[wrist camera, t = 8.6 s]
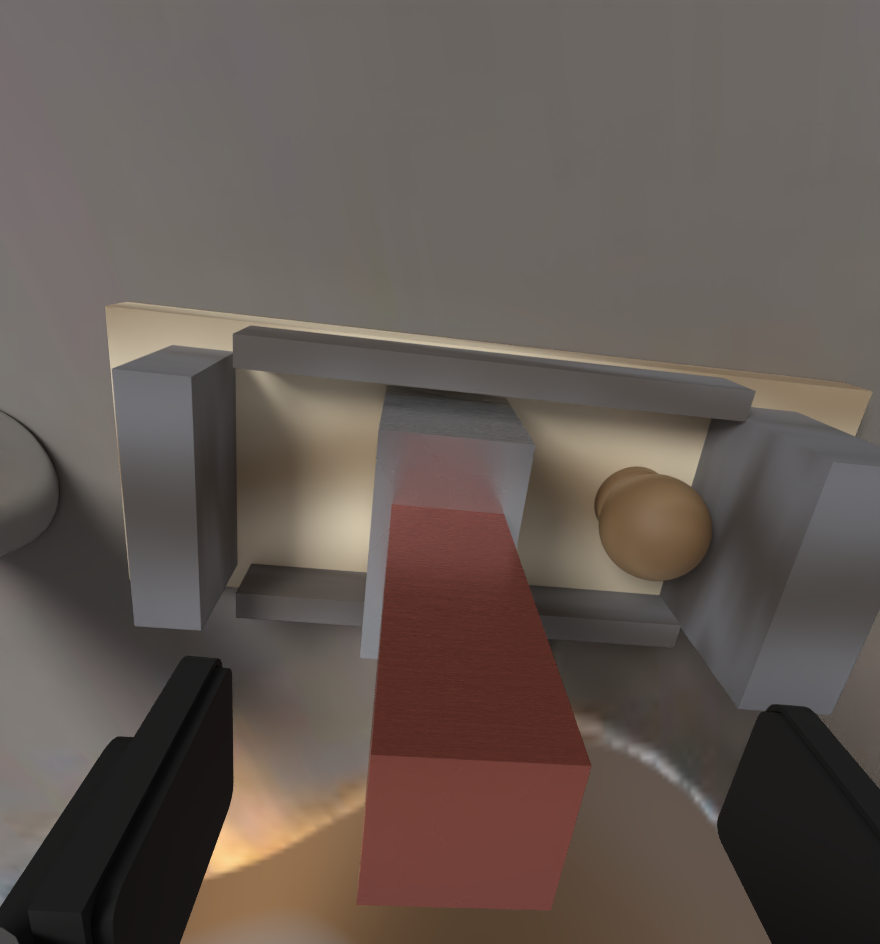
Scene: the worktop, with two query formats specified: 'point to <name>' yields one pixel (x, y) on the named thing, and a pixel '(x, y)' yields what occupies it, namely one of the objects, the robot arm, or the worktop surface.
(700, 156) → the worktop surface
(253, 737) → the worktop surface
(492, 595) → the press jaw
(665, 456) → the cracker board
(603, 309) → the worktop surface
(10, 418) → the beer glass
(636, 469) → the walnut
